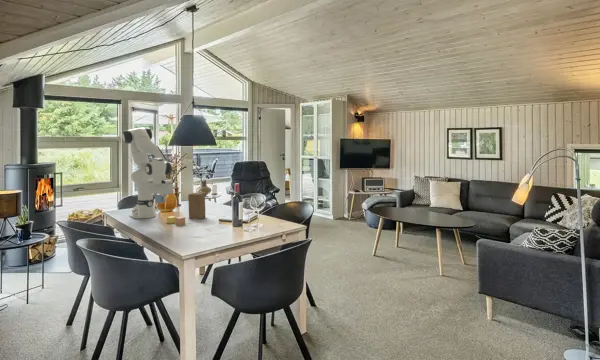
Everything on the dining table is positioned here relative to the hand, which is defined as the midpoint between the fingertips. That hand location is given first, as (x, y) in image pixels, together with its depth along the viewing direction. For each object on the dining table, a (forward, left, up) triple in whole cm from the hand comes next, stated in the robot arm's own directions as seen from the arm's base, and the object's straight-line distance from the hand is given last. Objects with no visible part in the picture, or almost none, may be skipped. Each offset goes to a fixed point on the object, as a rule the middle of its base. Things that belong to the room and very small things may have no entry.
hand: (160, 199), depth 267 cm
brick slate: (0, 0, -2) cm, 2 cm away
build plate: (+9, +9, -19) cm, 23 cm away
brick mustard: (-2, +10, -20) cm, 22 cm away
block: (0, +33, -20) cm, 39 cm away
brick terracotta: (+9, +9, -19) cm, 23 cm away
